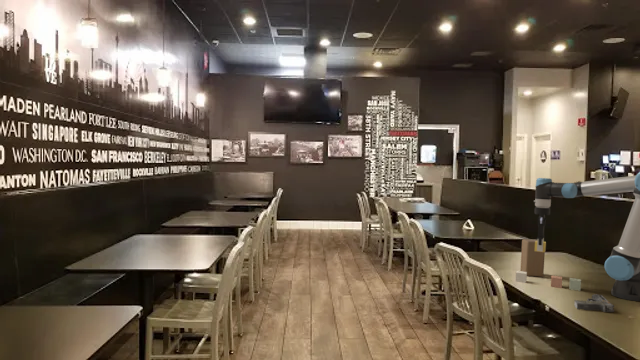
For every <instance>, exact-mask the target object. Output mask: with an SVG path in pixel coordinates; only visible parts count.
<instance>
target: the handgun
mask: <svg viewBox="0 0 640 360" xmlns="http://www.w3.org/2000/svg"><path fill="white" fill-rule="evenodd" d="M574 307H575V309H576V308H577V309H576V310H580V309H584V310H583V311H599V310H601V311H600V312H604V313H613V312H615V309H614V308H615V305H614V304H612V303H611V302H610V301H609V300H608V299H606V297H604V296H603V295H602V294H597V293H596V294H595V293H594V294H592V295H591V298H587V299H586V300H576V299H575V300H574Z"/></svg>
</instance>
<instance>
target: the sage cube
mask: <svg viewBox="0 0 640 360" xmlns="http://www.w3.org/2000/svg"><path fill="white" fill-rule="evenodd" d="M568 283H569V284H568V288H569V289H568V290H571V291H577V290H578V291H579V292H581V289H582V287H581V285H582V279H581V278H572V277H569V282H568Z"/></svg>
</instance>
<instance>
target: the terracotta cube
mask: <svg viewBox="0 0 640 360" xmlns="http://www.w3.org/2000/svg"><path fill="white" fill-rule="evenodd" d="M550 277H551V279H550V287H551V288H558V289H562V288H563V287H562V286H563V276H560V275H551V276H550Z"/></svg>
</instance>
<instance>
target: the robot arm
mask: <svg viewBox="0 0 640 360" xmlns="http://www.w3.org/2000/svg"><path fill="white" fill-rule="evenodd" d="M630 192H631V193H632V194H633V196H634V198H635V199H634V200H633V204H632V206H631V209H630V212H629V215H628V217H627V220H626V223H625V226H624V228H623V231H622V233H621V236H620V239H619V242H618V244H617V245H616V246H614V247H613V248H612V250H611V252H610V253H611V254H610V256H609V257H608V258H607V259H606V260H605V262H604V265H603V266H604V270H605V272H606V274H607V276H609V277H610V278H612V280H613V279H614V280H615V281H614V282H613V285H612V288H611V293H610V294H611V295H612V296H613V297H616V298H619V299H623V300H628V301H634V302H640V171H639V172H638V173H637V174H636V175H629V176H628V175H627V176H622V177H611V178H604V179H602V178H601V179H596V180H586V181H577V182H553V179H552V178H549V177H547V178H546V177H538V178H536V181H535V195H534V197H535V198H534V199H535V200H533V203H534V206H535V207H534V214H535V215H539V216H538V217H537V226H538V228H537V237H535V239H536V240H537V251H542V252H543V242H545V238H546V235H545V226H546V222H547V218H546V216H550V215H551V205H552V204H551V203H552V197H553V198H554V197H555V198H565V199H574V198H579V197H588V196H596V195H609V194H618V193H619V194H620V193H621V194H622V193H630Z"/></svg>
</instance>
